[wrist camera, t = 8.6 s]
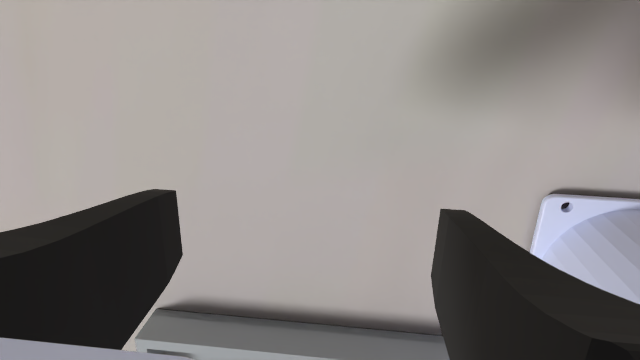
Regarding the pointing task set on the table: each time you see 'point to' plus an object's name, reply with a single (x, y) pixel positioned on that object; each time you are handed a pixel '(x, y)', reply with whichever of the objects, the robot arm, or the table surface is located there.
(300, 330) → the tray
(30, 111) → the table surface
